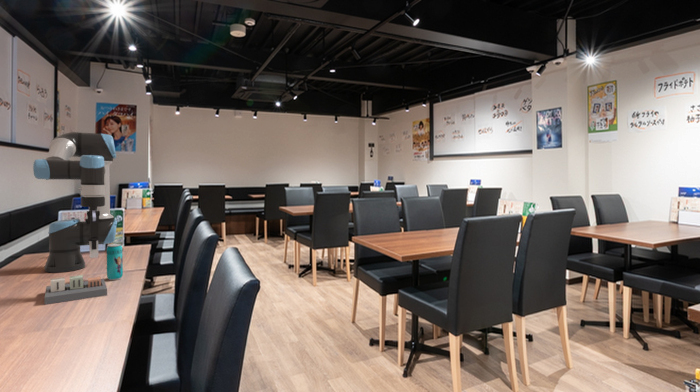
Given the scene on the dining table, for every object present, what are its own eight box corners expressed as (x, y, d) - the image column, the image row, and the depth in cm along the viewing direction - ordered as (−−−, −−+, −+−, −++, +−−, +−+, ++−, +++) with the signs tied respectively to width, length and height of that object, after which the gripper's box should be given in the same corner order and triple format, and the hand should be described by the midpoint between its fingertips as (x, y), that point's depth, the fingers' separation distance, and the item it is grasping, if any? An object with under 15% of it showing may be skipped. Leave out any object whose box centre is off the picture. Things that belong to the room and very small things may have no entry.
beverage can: (115, 281, 155) (114, 246, 154) (103, 280, 156) (103, 245, 156) (126, 277, 161) (125, 243, 160) (114, 276, 162) (114, 243, 161)
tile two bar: (69, 287, 138) (69, 276, 138) (83, 285, 141) (82, 274, 141) (69, 289, 135) (69, 279, 135) (83, 287, 137) (83, 277, 137)
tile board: (46, 292, 139) (46, 286, 139) (103, 284, 150) (103, 278, 150) (44, 304, 126) (44, 297, 126) (107, 295, 137) (107, 288, 137)
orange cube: (87, 288, 142) (87, 278, 142) (100, 286, 144) (100, 276, 144) (88, 291, 138) (88, 280, 138) (101, 289, 141) (101, 278, 141)
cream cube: (51, 289, 135) (50, 278, 135) (64, 287, 137) (64, 277, 137) (50, 292, 132) (50, 281, 132) (64, 290, 134) (64, 279, 134)
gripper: (80, 195, 142) (81, 255, 144) (81, 197, 132) (82, 262, 134) (103, 194, 147) (104, 253, 148) (106, 197, 137) (107, 259, 138)
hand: (94, 257), depth 141 cm, fingers closed
